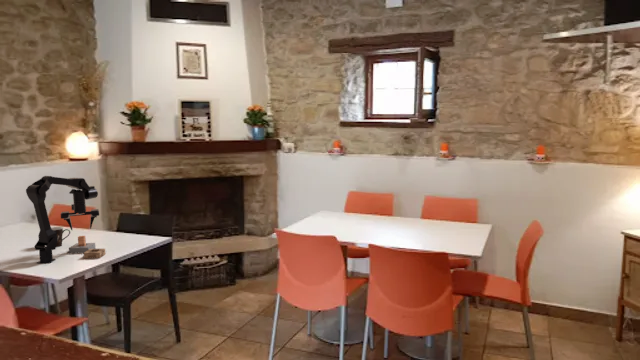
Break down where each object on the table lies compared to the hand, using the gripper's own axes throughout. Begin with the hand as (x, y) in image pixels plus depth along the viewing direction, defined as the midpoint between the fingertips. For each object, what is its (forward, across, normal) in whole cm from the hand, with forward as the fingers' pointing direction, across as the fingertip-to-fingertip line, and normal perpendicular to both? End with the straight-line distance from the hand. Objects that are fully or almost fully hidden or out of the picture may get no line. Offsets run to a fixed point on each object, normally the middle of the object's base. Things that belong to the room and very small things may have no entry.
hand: (81, 229), depth 277 cm
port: (+12, 0, 0) cm, 12 cm away
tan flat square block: (+12, -6, +15) cm, 20 cm away
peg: (+12, 0, 0) cm, 12 cm away
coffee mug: (+12, +13, -17) cm, 25 cm away
